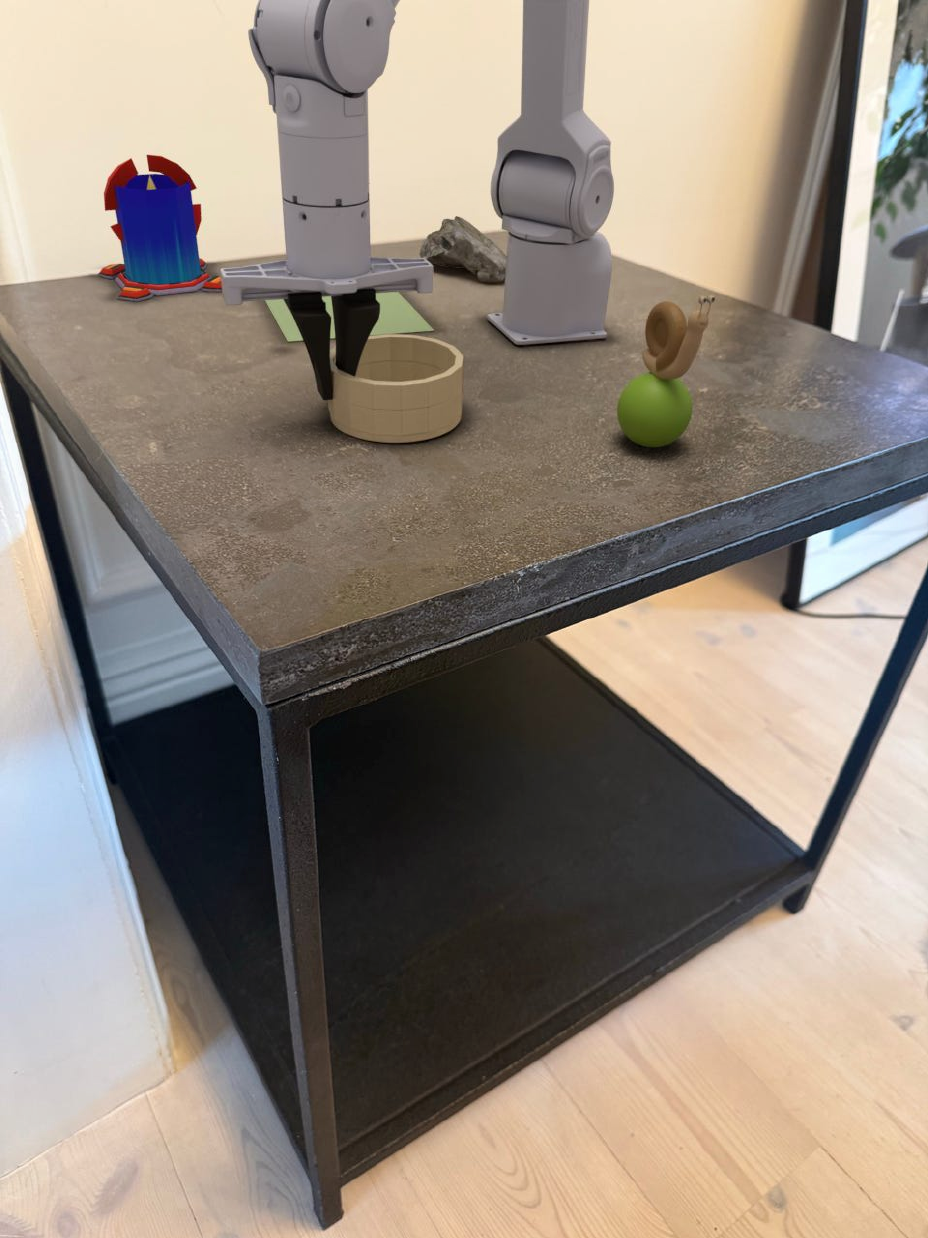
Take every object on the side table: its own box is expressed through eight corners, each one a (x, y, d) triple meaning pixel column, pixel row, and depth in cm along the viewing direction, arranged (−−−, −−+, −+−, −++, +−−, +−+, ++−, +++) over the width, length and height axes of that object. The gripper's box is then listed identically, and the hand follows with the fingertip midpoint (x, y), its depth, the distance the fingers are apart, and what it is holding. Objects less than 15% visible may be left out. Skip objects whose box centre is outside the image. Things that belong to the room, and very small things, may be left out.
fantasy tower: (121, 303, 90) (97, 169, 82) (94, 271, 98) (70, 146, 91) (237, 290, 95) (224, 162, 87) (203, 260, 103) (188, 141, 96)
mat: (393, 287, 98) (393, 287, 98) (434, 330, 87) (434, 330, 87) (262, 295, 93) (261, 295, 93) (287, 341, 83) (287, 341, 83)
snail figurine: (644, 470, 65) (675, 299, 58) (599, 433, 70) (621, 271, 63) (707, 459, 67) (744, 293, 60) (658, 424, 72) (687, 266, 65)
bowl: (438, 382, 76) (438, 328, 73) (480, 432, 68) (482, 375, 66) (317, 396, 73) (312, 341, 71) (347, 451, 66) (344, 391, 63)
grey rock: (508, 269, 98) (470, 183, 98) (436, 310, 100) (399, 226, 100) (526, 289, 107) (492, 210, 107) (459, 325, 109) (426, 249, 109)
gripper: (222, 215, 55) (244, 425, 63) (449, 207, 59) (443, 405, 67) (207, 190, 60) (229, 387, 68) (417, 185, 65) (415, 370, 73)
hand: (334, 394), depth 68 cm, fingers closed on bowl
